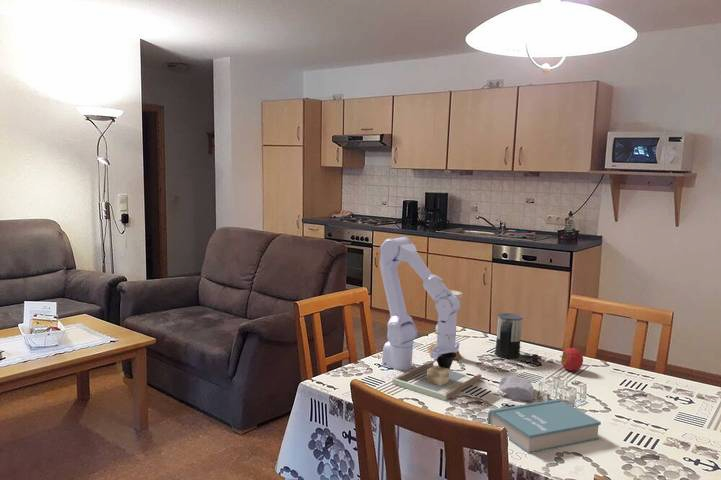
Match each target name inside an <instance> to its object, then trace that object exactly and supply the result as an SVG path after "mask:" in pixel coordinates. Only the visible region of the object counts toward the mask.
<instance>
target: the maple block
mask: <svg viewBox="0 0 721 480" xmlns="http://www.w3.org/2000/svg"><path fill="white" fill-rule="evenodd" d="M426 378H427V381H426V382H429V383H432V384H436V385H439V386H442V385H443V384H445V383H447V382H449V369H447V368H444V367H440V366H438V364H437V365H436V364H435V365H433V366H432V367H430V368H428V369H426Z"/></svg>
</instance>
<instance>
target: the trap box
mask: <svg viewBox="0 0 721 480" xmlns="http://www.w3.org/2000/svg"><path fill="white" fill-rule="evenodd" d="M433 366H434V360H430V361H428V362H426V363H424V364H422V365H419V366H417V367H415V368H413V369H411V370H408V371H406V372H404V373H402V374H400V375H398V376H396V377H394V378H392V385H395V386H398V387H401V388H404V389H407V390H410V391H414V392H417V393H420V394H423V395H426V396H430V397H432V398H434V399H438V400H441V401H445V402H446V401H447V400H448V399H449V400H450V399H451V398H452V397H454V396H455V395H457V394H459V393H461V392H462V391H464V390H466V389H467V388H469V387H471V386H472V385H474V384H476V383H478V382H479V381H481V380H482V374H481V373H478V374H476V375H475V376H473V377H472V378H470V379H468V380H466V381H465V382H463V383H461V384H459V385H457V386H455V387H454V388H452V389H450V390H448V391H447V392H445V393H442V392H440V390H443V389H445V388H447V387H449V385H451V384H453V383H455V382H458V381H459V380H460V379H462V378H465V377H466V376H467V374H464V373H460V372H458V371H454V370H451V369H450V370H449V382H447V383H445V384H443V385H442V386H439V385H436V384H432V383H429V382H426V381H427V377H426V378H423V379H421V380H420V381H418V382H415V383H410V382H408V381H405V380H407V379H409V378H412V377H413V376H415V375H417V374H419V373H421V372H424V371H425V370H426V371H427V369H429V368H431V367H433Z"/></svg>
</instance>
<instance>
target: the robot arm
mask: <svg viewBox="0 0 721 480" xmlns="http://www.w3.org/2000/svg"><path fill="white" fill-rule="evenodd" d="M379 251H380V256H379V257H380V258H379V269H380V275H381V278H382V283H383V288H384V292H385V293H384V294H385V296H386V297H385V298H386V301H387V306H388V312H389V316H390V318H389V320H388V322H387V324H386V327H387V335H386V337H387V342H385V344H384V345H383V349H382V361H381V368H383V367H385V366H386V367H389V368H391V369H393V370H399V371H407V370H408V371H409V370H410V369H412V367H413V347H414V346H413V345H414V341H415V340H416V338H417V336H418V329H417V325H415V323H414V320H413V317H412V316H411V315H409V314H408V312H407V307H406V303H405V299H404V293H403V289H402V283H401V280H400V276H399V271H398V267H399V265H400V263H401V262H405V263H408V265H409V266H410V267H411V268H412V269H413V270H414V271H415V273H416V274H417V275H418V276H419V277H420V278H421V280H423V283H422V287H423V288H424V290H425V291H426V293H427V294H428V295H429V296H430V298H431V299H432V300H433V302H434V303H435V304H434V308H435V310H436V312H437V324H438V331H437V332H436V343H437V345H436V347H435V348H434V350H433V351H431V357H430V358H431V359H434V360H436V363H437V366H440V367H444V368H447V369H449V370H450V371H451V367H452V364H453V361H454V360H455V359H454V358H455V357H456V353H453V352H458V350H459V349H460V342H457V341H456V339H457V338H456V336H457V335H456V334H457V325H458V324H457V322H458V311H459V310H460V308H461V306H462V301H461V299H460V298H459V297H458V296H457V295H456V294H452V292H451V291H450V290H451V289H448V287H447V285H445V283H444V282H443V281H444V279H443V277H439V276H438V275H437V274H433V273H432V272H431V270H430V269H429V268H428V266H427V264H426V263H425V262H424V260H423V259H422V257H421V256H420V254H419V253H418V251H417V247H416V245H415V244H414V243H413V242H412V240H411V239H410V238H409V237H407V236H401V237H396V238H387V239H384V241H383V242H382V244H381V245H380V246H379Z"/></svg>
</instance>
